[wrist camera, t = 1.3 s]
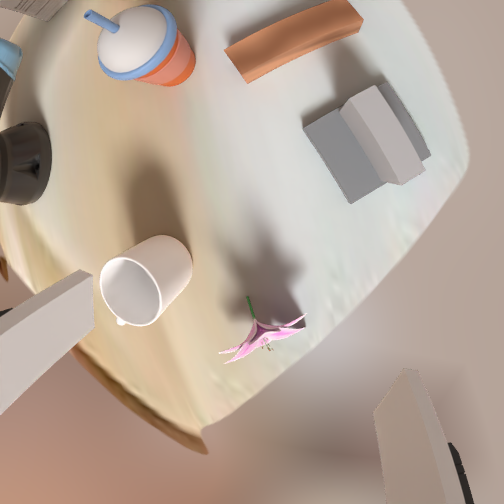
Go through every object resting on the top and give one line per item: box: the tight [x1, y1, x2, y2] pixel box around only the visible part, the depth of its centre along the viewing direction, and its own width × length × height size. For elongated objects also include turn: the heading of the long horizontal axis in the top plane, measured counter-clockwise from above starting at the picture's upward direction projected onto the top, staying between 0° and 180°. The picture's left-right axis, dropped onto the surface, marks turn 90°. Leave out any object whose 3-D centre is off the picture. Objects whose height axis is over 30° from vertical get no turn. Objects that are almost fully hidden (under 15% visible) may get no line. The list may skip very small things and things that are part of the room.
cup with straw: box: [84, 5, 196, 86], centre depth 22 cm, size 9×9×18 cm
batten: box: [224, 0, 364, 84], centre depth 26 cm, size 4×16×4 cm, turn 121°
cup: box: [100, 235, 193, 326], centre depth 34 cm, size 8×12×10 cm
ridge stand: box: [303, 82, 431, 204], centre depth 26 cm, size 10×12×8 cm
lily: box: [219, 296, 307, 364], centre depth 35 cm, size 12×12×10 cm
